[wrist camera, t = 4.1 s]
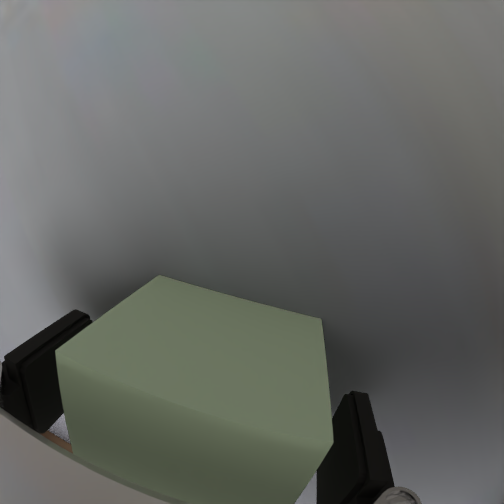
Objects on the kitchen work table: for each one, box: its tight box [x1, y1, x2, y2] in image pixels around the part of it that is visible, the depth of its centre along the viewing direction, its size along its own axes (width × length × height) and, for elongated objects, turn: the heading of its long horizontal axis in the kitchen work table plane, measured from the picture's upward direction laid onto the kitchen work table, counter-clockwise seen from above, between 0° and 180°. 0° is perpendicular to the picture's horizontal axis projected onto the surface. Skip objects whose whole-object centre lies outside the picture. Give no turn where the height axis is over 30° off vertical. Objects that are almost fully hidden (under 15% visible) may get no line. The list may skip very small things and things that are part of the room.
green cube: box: [55, 275, 334, 504], centre depth 9 cm, size 6×6×6 cm
